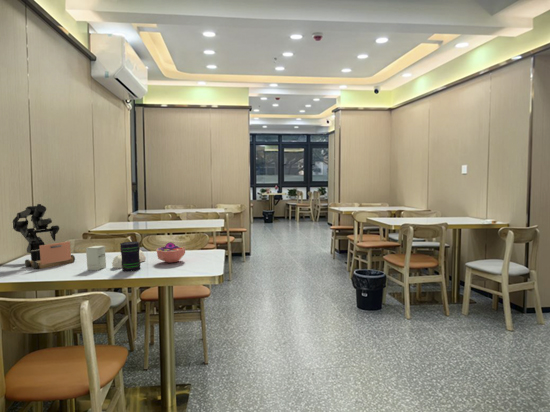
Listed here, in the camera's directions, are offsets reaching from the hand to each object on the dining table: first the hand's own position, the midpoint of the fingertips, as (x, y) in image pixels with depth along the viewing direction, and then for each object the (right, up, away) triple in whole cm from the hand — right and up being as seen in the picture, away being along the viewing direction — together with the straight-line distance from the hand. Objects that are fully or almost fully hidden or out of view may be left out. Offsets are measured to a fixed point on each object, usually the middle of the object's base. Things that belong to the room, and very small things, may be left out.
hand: (47, 241), depth 256 cm
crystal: (+54, -13, -10) cm, 57 cm away
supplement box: (+39, -14, -20) cm, 46 cm away
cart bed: (+2, -14, 0) cm, 14 cm away
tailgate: (+9, -12, -6) cm, 16 cm away
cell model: (+79, -11, -9) cm, 80 cm away
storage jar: (+61, -13, -26) cm, 68 cm away
